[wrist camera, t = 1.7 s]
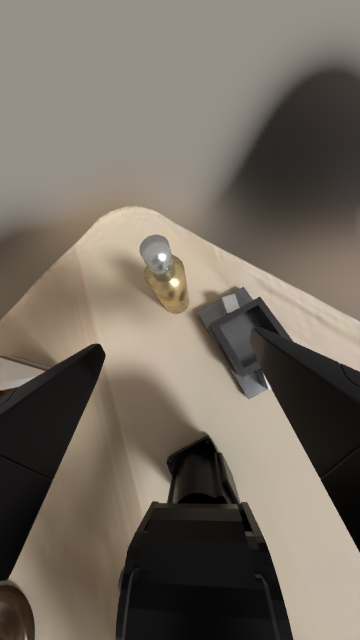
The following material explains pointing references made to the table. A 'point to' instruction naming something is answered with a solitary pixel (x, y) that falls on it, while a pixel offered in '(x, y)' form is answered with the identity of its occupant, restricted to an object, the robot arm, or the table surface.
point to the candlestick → (15, 615)
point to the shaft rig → (240, 336)
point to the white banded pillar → (17, 372)
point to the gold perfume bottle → (165, 274)
